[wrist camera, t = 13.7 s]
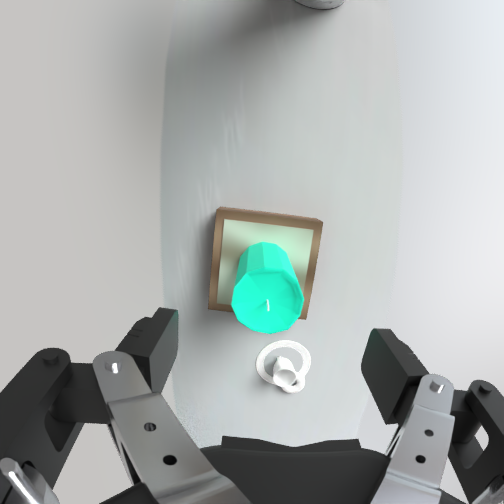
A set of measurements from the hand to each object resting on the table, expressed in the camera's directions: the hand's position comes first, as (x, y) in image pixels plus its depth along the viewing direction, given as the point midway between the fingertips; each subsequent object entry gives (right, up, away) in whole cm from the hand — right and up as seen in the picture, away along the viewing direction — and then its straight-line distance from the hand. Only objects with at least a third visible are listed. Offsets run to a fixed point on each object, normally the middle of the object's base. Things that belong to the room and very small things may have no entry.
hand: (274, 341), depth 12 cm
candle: (0, +2, +23) cm, 23 cm away
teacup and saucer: (+2, -15, +32) cm, 35 cm away
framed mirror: (0, +3, +27) cm, 27 cm away
